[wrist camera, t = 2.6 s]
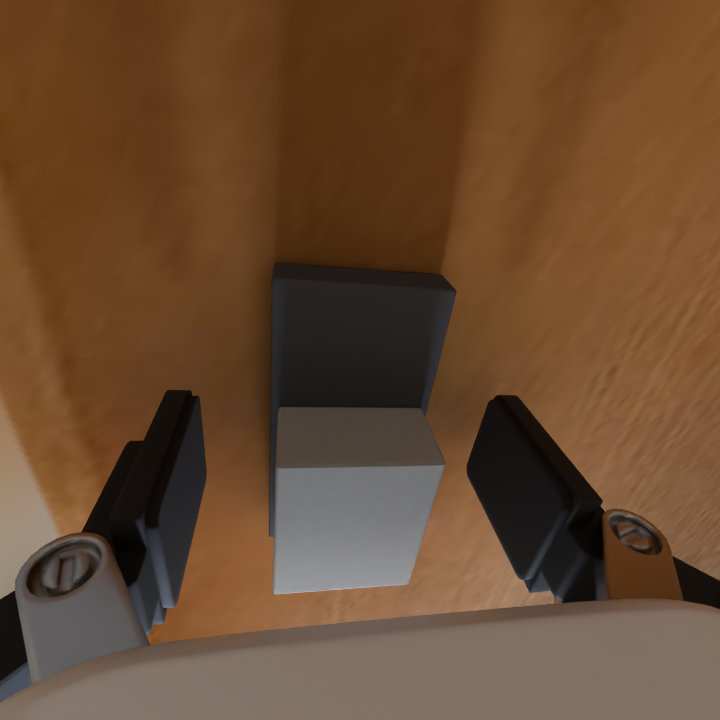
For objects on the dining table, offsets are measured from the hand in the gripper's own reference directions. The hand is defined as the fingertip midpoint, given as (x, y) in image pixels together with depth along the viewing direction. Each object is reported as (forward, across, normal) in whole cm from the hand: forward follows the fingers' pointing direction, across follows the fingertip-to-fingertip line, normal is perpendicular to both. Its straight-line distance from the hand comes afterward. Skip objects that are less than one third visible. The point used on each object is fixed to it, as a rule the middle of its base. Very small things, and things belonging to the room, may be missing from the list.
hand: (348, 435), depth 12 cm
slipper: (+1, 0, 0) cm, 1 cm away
